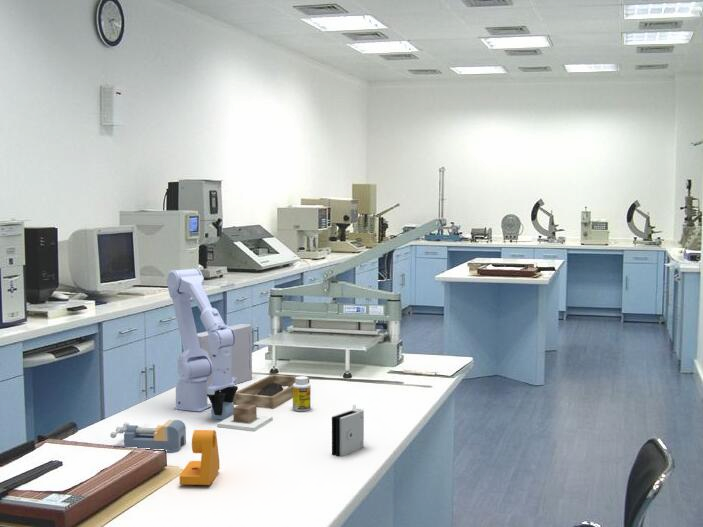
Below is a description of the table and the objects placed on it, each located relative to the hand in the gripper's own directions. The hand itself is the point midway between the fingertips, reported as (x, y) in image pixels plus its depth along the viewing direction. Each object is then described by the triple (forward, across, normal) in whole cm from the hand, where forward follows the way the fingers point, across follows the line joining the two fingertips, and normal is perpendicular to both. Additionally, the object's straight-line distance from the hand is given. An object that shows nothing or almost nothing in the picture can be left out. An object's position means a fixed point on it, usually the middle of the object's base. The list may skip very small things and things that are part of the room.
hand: (222, 412), depth 244 cm
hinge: (+2, -14, -46) cm, 48 cm away
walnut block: (0, -4, -10) cm, 10 cm away
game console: (+2, +34, +19) cm, 39 cm away
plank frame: (+1, +28, -3) cm, 28 cm away
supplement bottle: (+2, +16, -19) cm, 25 cm away
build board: (+1, -4, -10) cm, 10 cm away
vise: (+2, -31, +5) cm, 32 cm away
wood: (+2, +29, -2) cm, 29 cm away
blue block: (+1, 0, 0) cm, 1 cm away
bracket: (+2, -48, -21) cm, 52 cm away
